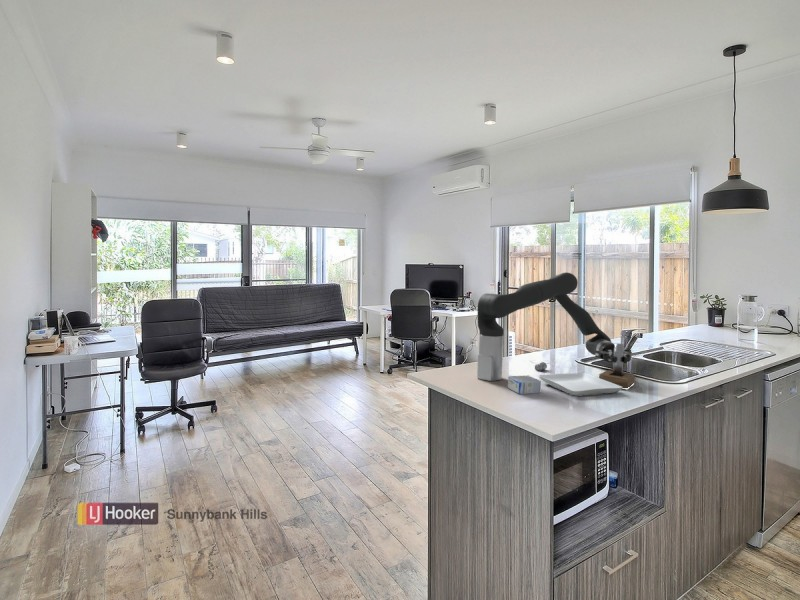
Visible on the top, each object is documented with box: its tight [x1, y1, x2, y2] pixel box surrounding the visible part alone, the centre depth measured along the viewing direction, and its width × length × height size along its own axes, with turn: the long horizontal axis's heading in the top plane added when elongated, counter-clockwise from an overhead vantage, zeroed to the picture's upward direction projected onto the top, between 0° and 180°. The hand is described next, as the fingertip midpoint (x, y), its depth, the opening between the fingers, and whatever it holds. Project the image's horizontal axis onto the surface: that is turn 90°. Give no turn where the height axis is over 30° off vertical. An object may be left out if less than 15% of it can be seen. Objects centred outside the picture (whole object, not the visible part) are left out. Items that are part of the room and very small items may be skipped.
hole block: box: [598, 369, 636, 388], centre depth 171 cm, size 10×10×4 cm
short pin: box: [534, 361, 548, 372], centre depth 193 cm, size 3×3×5 cm
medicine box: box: [507, 374, 542, 395], centre depth 161 cm, size 8×4×9 cm
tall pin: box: [612, 342, 625, 377], centre depth 171 cm, size 3×3×13 cm
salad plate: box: [538, 372, 623, 397], centre depth 165 cm, size 21×21×3 cm
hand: (620, 360), depth 168 cm, fingers closed on tall pin, 3 cm apart
